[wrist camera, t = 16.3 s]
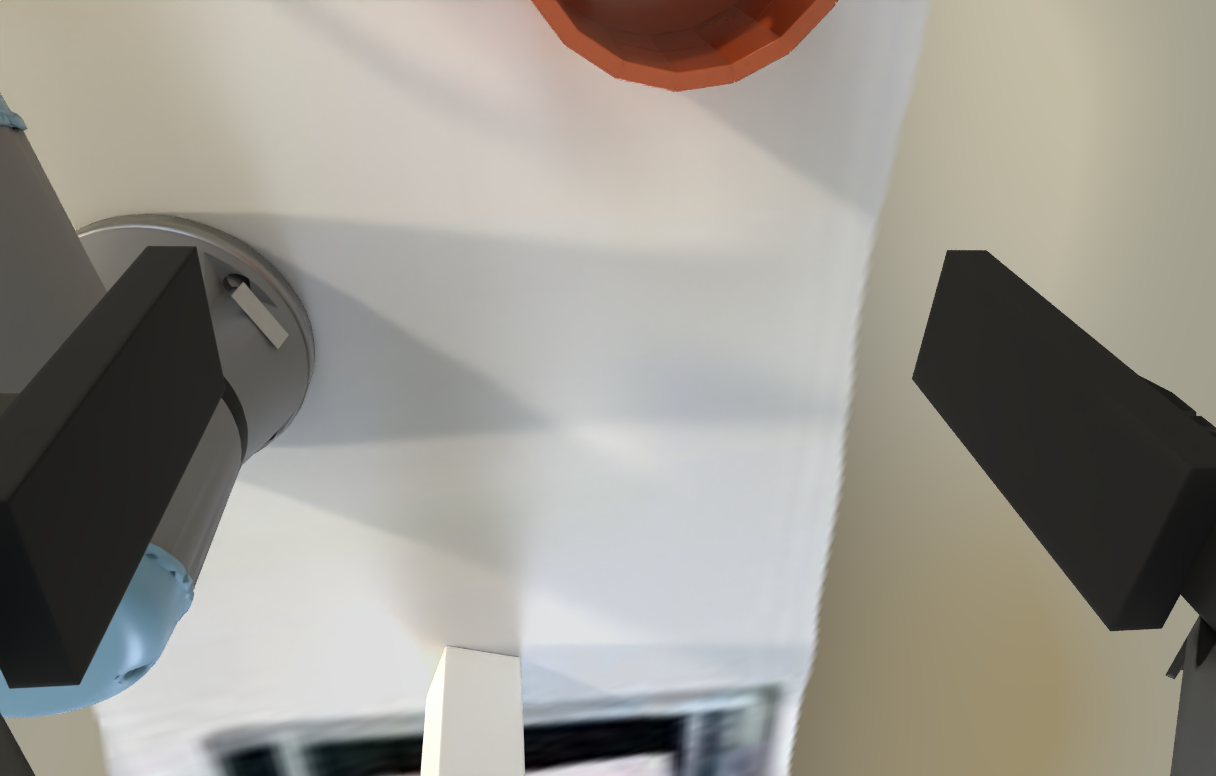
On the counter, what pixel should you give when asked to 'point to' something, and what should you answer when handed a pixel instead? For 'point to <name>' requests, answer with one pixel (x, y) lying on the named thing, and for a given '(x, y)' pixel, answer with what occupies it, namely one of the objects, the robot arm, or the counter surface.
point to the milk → (474, 716)
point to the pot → (682, 36)
